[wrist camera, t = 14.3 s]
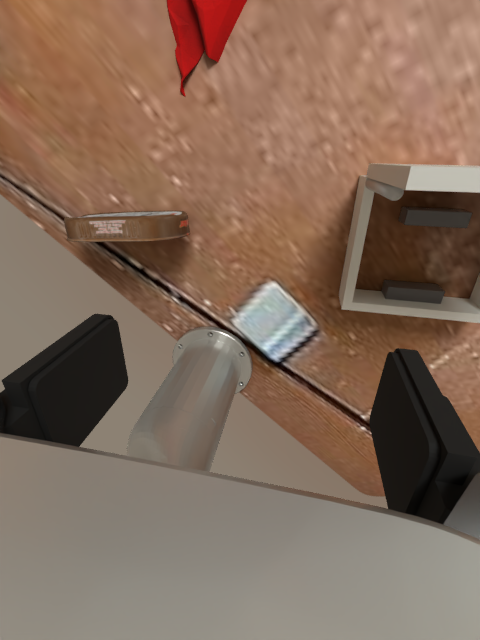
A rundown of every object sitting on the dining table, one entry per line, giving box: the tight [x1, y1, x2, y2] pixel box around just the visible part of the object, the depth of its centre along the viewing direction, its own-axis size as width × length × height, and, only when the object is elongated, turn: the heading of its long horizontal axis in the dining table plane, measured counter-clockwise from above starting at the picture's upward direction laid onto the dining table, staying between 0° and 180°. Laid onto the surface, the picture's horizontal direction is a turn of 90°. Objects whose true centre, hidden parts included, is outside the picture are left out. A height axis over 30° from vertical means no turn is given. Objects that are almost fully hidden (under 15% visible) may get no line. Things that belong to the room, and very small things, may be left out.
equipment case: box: [339, 163, 480, 323], centre depth 27 cm, size 15×16×18 cm
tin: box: [64, 211, 190, 242], centre depth 37 cm, size 15×3×8 cm, turn 93°
